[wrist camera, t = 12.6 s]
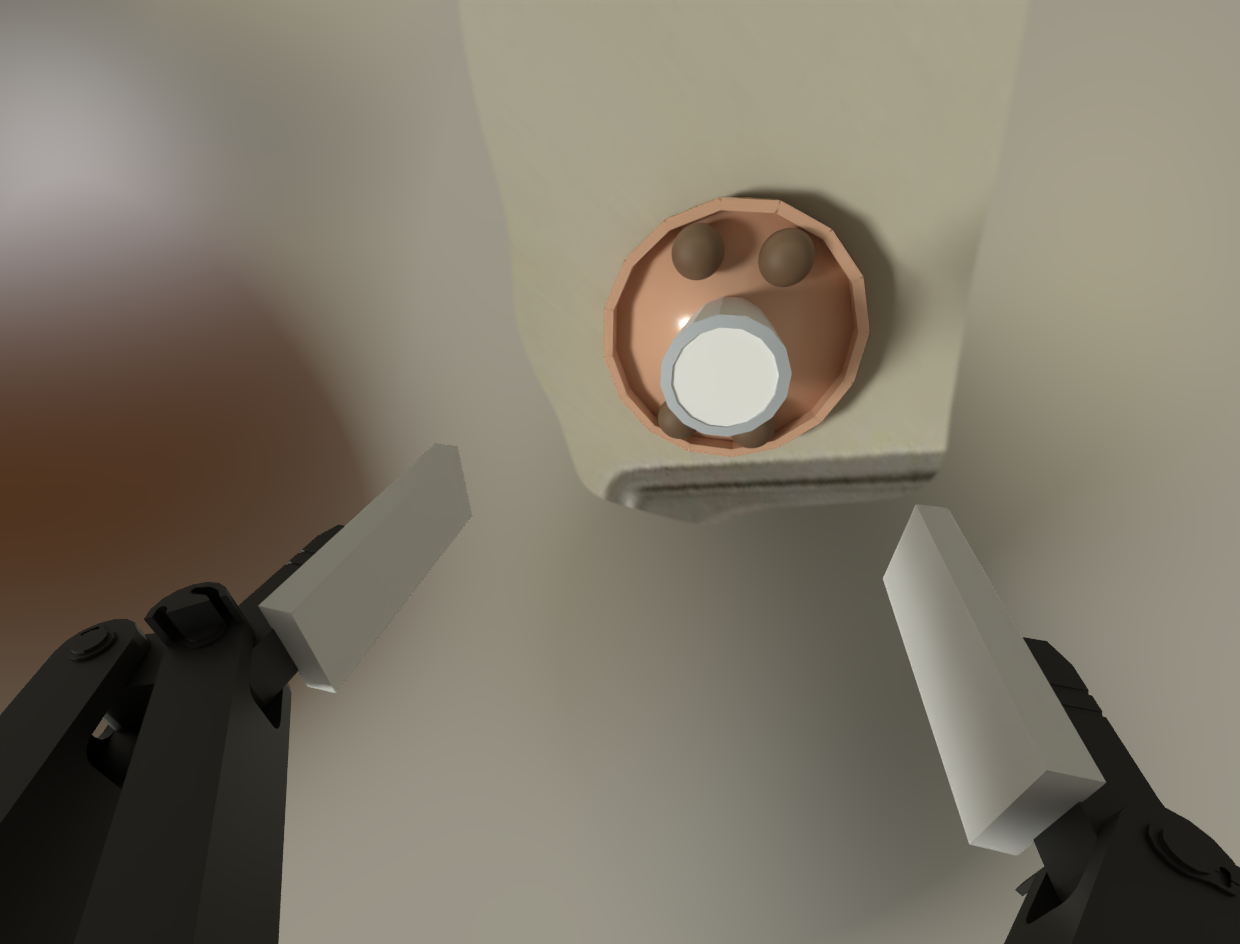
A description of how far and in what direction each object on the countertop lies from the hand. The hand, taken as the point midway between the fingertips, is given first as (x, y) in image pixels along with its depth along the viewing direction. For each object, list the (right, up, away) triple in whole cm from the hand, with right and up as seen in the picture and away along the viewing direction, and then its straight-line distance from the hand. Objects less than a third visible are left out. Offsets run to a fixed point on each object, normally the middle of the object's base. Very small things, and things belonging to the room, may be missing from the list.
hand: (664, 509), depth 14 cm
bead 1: (+3, +5, +19) cm, 20 cm away
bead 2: (+3, +14, +13) cm, 19 cm away
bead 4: (+8, +13, +12) cm, 20 cm away
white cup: (+6, +10, +17) cm, 20 cm away
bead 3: (+8, +4, +18) cm, 20 cm away
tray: (+6, +10, +18) cm, 21 cm away
